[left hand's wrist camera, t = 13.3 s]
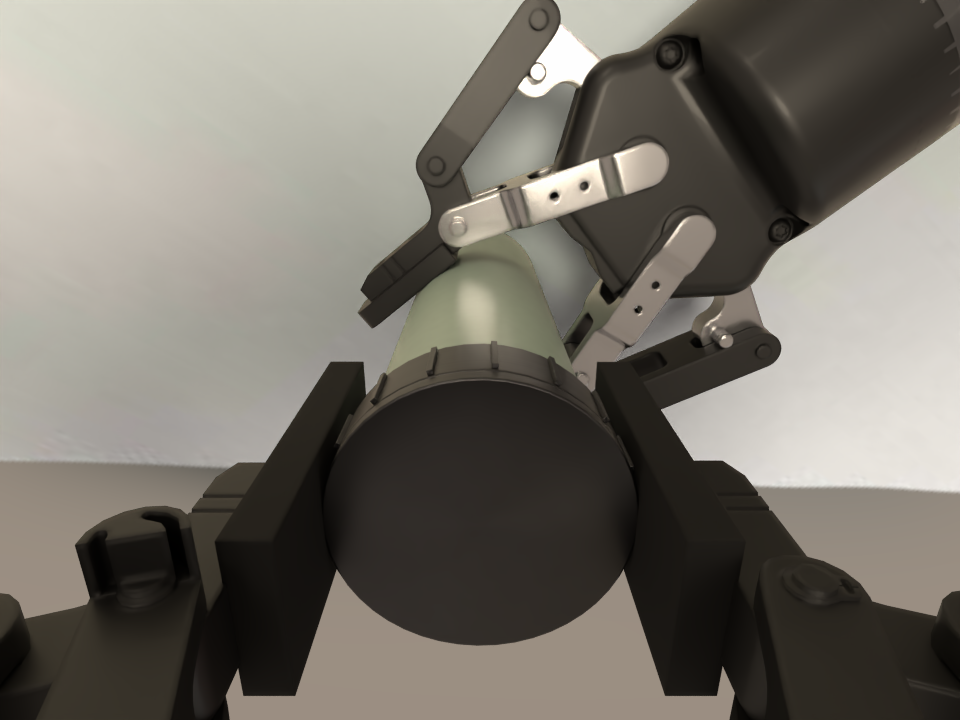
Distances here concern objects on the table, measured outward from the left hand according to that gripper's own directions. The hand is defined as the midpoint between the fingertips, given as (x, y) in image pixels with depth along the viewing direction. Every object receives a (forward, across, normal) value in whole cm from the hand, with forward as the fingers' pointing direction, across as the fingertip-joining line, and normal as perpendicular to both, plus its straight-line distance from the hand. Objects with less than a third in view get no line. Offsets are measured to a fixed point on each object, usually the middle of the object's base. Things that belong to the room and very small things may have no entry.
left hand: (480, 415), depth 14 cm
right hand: (+7, -2, -2) cm, 7 cm away
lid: (-4, 0, 0) cm, 4 cm away
